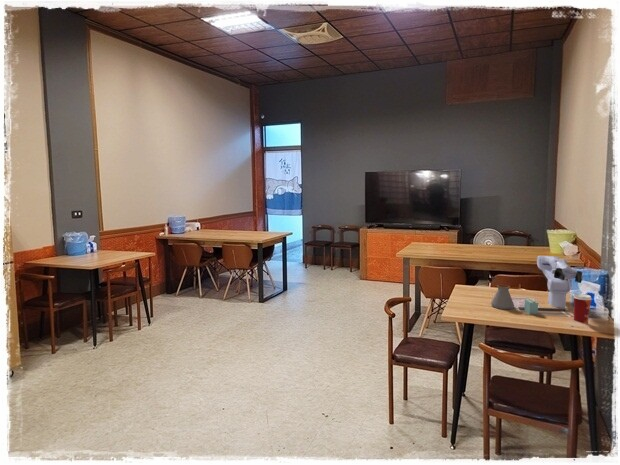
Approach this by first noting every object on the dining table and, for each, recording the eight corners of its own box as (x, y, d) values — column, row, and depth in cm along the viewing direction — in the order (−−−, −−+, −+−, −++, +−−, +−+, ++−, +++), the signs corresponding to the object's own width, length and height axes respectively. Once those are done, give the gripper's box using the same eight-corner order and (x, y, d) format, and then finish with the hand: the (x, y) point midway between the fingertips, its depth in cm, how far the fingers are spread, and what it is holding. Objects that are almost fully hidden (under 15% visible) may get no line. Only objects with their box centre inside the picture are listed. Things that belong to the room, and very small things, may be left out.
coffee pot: (517, 312, 226) (519, 284, 224) (495, 312, 227) (497, 284, 225) (501, 301, 247) (502, 276, 246) (481, 301, 248) (482, 276, 246)
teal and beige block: (524, 310, 226) (525, 297, 225) (532, 310, 225) (533, 297, 224) (529, 314, 219) (530, 301, 218) (537, 314, 218) (538, 301, 217)
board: (518, 311, 228) (518, 306, 227) (564, 313, 225) (564, 308, 224) (525, 318, 217) (526, 312, 216) (574, 320, 214) (574, 314, 213)
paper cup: (591, 326, 204) (593, 298, 202) (573, 324, 206) (575, 296, 205) (587, 321, 211) (589, 294, 209) (569, 320, 214) (571, 292, 212)
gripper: (551, 260, 225) (558, 269, 212) (581, 265, 222) (590, 275, 209) (547, 273, 227) (554, 282, 215) (577, 278, 224) (586, 288, 211)
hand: (572, 279), depth 212 cm, fingers open, 7 cm apart
